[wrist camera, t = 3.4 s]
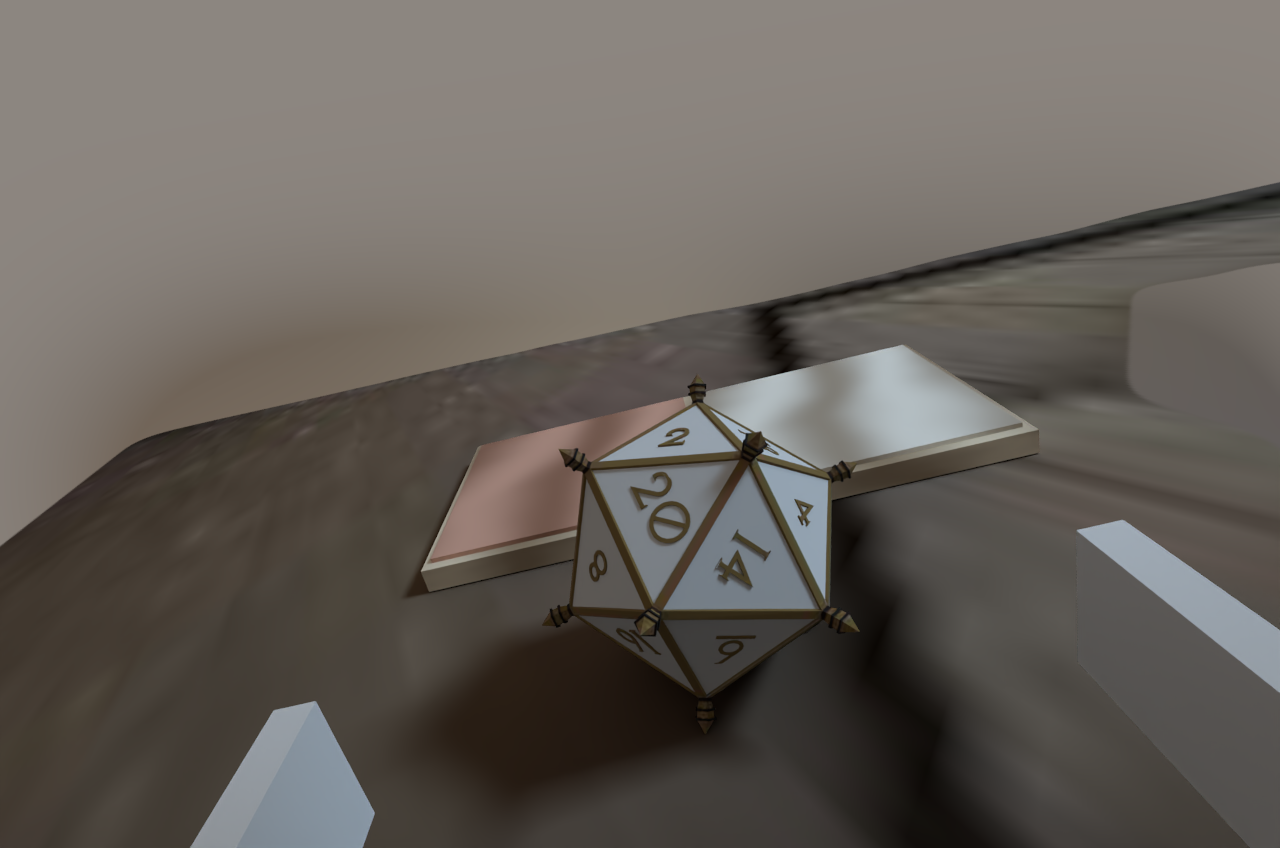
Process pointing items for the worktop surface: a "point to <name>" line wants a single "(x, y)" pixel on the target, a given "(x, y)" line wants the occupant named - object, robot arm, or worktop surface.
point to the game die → (702, 548)
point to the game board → (777, 406)
